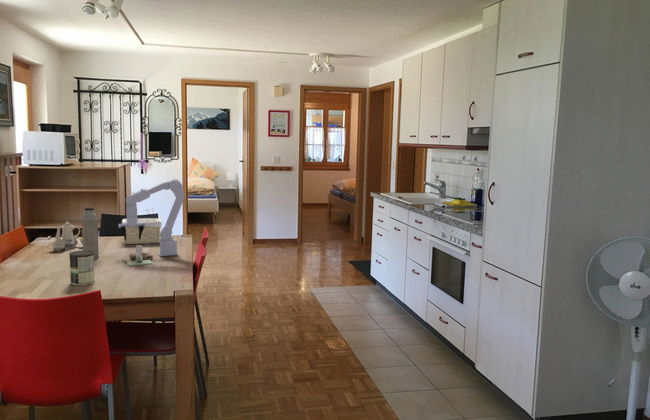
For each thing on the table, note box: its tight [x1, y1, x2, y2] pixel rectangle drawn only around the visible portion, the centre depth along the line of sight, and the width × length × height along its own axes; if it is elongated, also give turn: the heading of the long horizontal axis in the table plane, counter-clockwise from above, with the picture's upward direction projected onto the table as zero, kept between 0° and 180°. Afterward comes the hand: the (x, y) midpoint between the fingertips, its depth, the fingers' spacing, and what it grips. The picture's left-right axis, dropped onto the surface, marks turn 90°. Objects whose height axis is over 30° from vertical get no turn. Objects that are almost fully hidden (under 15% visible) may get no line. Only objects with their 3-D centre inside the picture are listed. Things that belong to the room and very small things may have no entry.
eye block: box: [128, 251, 154, 261], centre depth 297 cm, size 11×11×2 cm
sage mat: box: [126, 260, 153, 267], centre depth 287 cm, size 12×9×1 cm
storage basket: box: [121, 217, 162, 245], centre depth 345 cm, size 24×16×15 cm
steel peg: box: [135, 244, 143, 263], centre depth 286 cm, size 3×3×9 cm
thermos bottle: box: [81, 207, 100, 260], centre depth 295 cm, size 8×8×28 cm
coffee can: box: [68, 250, 95, 286], centre depth 245 cm, size 10×10×14 cm
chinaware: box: [47, 220, 83, 252], centre depth 321 cm, size 28×17×17 cm, turn 147°
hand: (132, 239), depth 304 cm, fingers open, 7 cm apart
